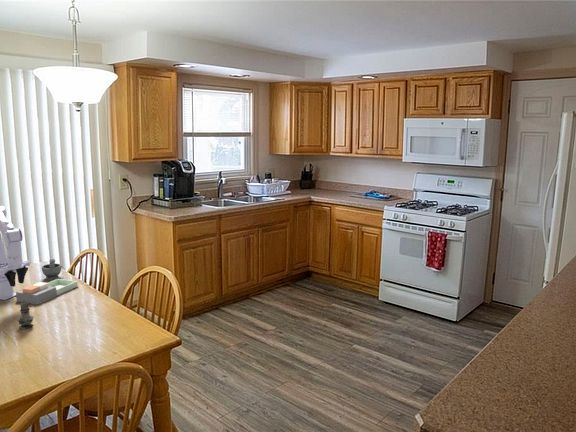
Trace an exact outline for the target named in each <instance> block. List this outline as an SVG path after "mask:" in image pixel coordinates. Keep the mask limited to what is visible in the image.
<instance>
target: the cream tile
mask: <svg viewBox="0 0 576 432" xmlns="http://www.w3.org/2000/svg"><path fill="white" fill-rule="evenodd" d="M48 283H49V282H44V281H43V282H42V281H39V282H36V283H33V284H31V286H38V287H39V289H40V290H42V289H45V288H47V287H48Z"/></svg>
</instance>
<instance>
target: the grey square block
mask: <svg viewBox="0 0 576 432" xmlns="http://www.w3.org/2000/svg"><path fill="white" fill-rule="evenodd" d="M15 293H16V296H15V297H16V302H19V303H21V302H22V301H23V300H25V301H27V302H28V304H32V305H40V304H41V303H44V302H47V301H48V300H50V299H53V298H55V297H57V296H56V287H51V286H48V287H47V288H45V289H42V290H40V291H38V292H35V293H33V294H28V293H23V290H22V289H21V290H18V291H16V292H15Z"/></svg>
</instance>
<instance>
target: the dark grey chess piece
mask: <svg viewBox="0 0 576 432" xmlns="http://www.w3.org/2000/svg"><path fill="white" fill-rule="evenodd" d="M19 303H20V310H19V312H20V317H18V318H17V322H18V324H19V325H20V326H19V327H18V329H19V330H27V329H31V328H33V327H34V324H33V321H34V316H32V315H30V307H29V303H28V302H27V301H25V300H23V301H22V302H19Z"/></svg>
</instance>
